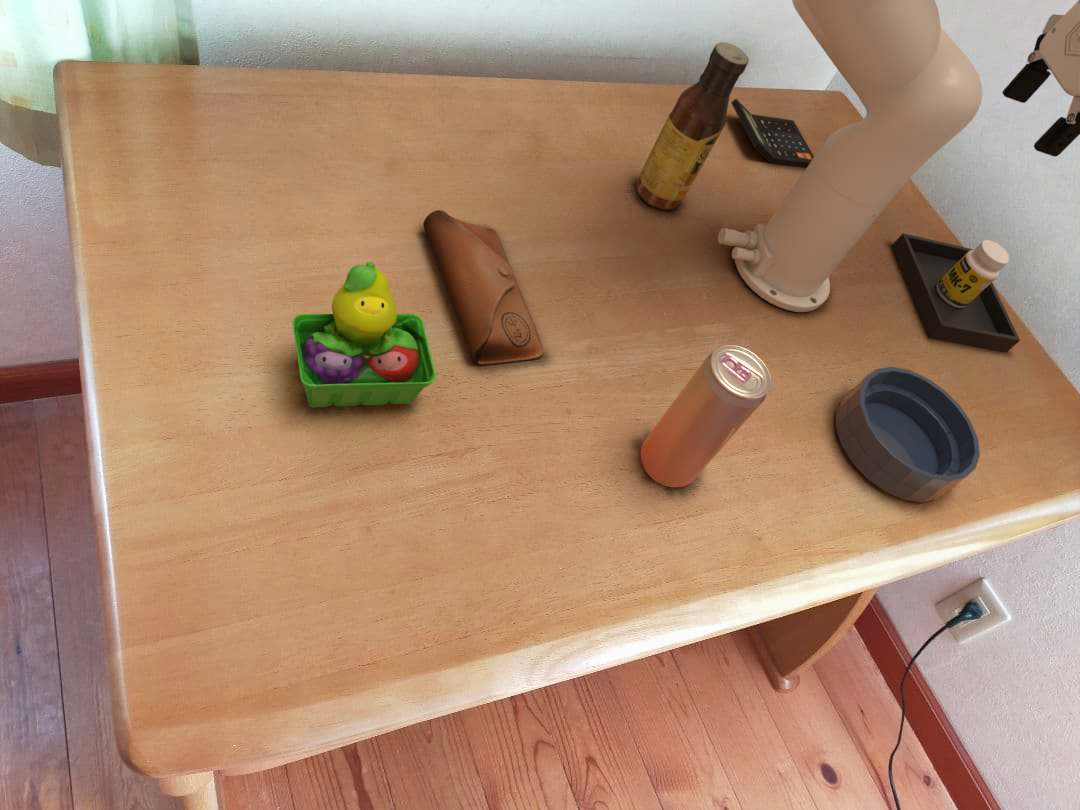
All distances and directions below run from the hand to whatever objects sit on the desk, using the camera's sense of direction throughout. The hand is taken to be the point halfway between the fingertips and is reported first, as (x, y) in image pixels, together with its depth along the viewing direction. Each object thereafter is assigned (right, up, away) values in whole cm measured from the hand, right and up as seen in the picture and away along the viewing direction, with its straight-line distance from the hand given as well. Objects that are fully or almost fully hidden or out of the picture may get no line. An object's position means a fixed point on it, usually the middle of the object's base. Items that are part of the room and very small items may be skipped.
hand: (1028, 124), depth 98 cm
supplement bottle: (0, -17, +18) cm, 25 cm away
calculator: (-22, +6, +27) cm, 35 cm away
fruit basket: (-71, -29, -19) cm, 79 cm away
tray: (-1, -17, +18) cm, 25 cm away
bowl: (-16, -36, -2) cm, 39 cm away
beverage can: (-43, -37, -14) cm, 58 cm away
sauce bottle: (-40, -5, +11) cm, 42 cm away
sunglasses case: (-61, -20, -8) cm, 64 cm away
